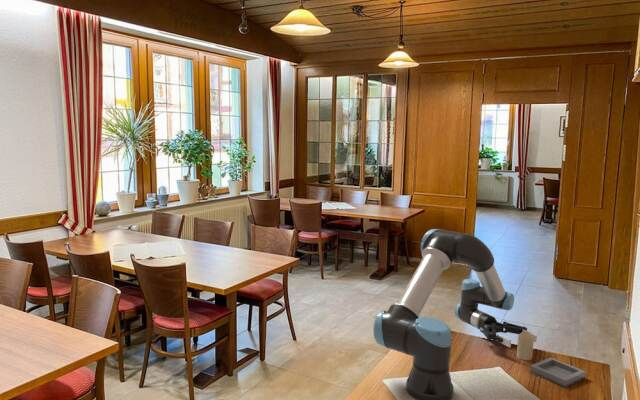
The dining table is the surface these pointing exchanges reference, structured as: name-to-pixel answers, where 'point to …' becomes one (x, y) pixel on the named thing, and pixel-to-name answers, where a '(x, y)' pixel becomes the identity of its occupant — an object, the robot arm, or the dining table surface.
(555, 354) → the dining table surface
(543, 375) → the charcoal dish
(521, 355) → the candle
